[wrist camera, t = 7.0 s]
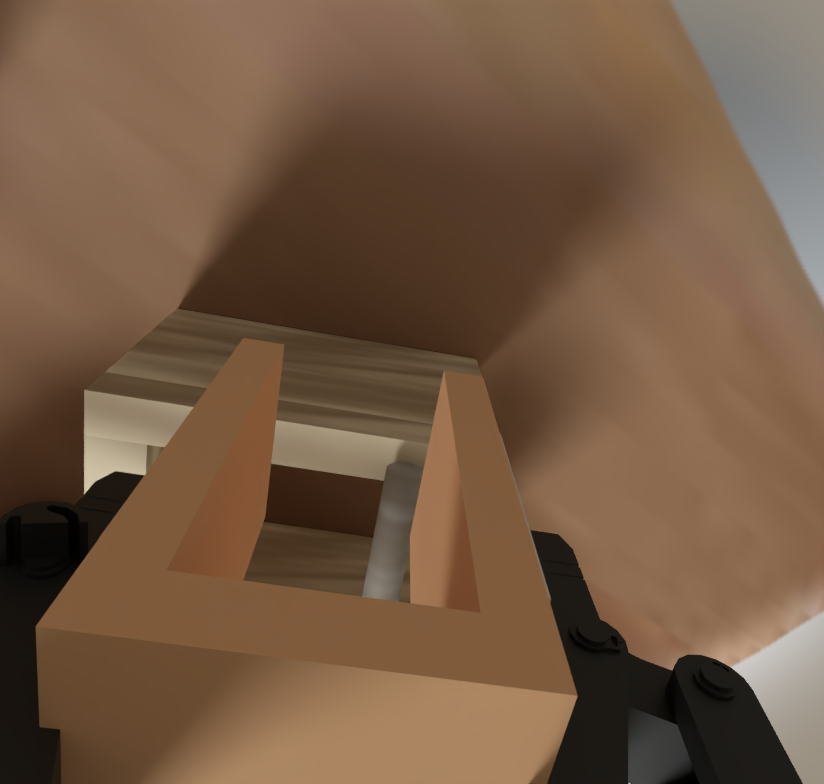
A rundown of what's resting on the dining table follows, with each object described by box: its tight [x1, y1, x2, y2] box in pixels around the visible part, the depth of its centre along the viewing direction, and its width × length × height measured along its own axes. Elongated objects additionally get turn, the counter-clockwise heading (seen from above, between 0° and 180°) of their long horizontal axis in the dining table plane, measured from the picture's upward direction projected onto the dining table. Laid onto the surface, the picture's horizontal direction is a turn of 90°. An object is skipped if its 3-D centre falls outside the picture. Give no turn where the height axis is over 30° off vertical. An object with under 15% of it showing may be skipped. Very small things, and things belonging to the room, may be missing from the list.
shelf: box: [84, 309, 481, 603], centre depth 35 cm, size 14×17×14 cm
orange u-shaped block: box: [36, 338, 578, 784], centre depth 13 cm, size 5×6×10 cm
